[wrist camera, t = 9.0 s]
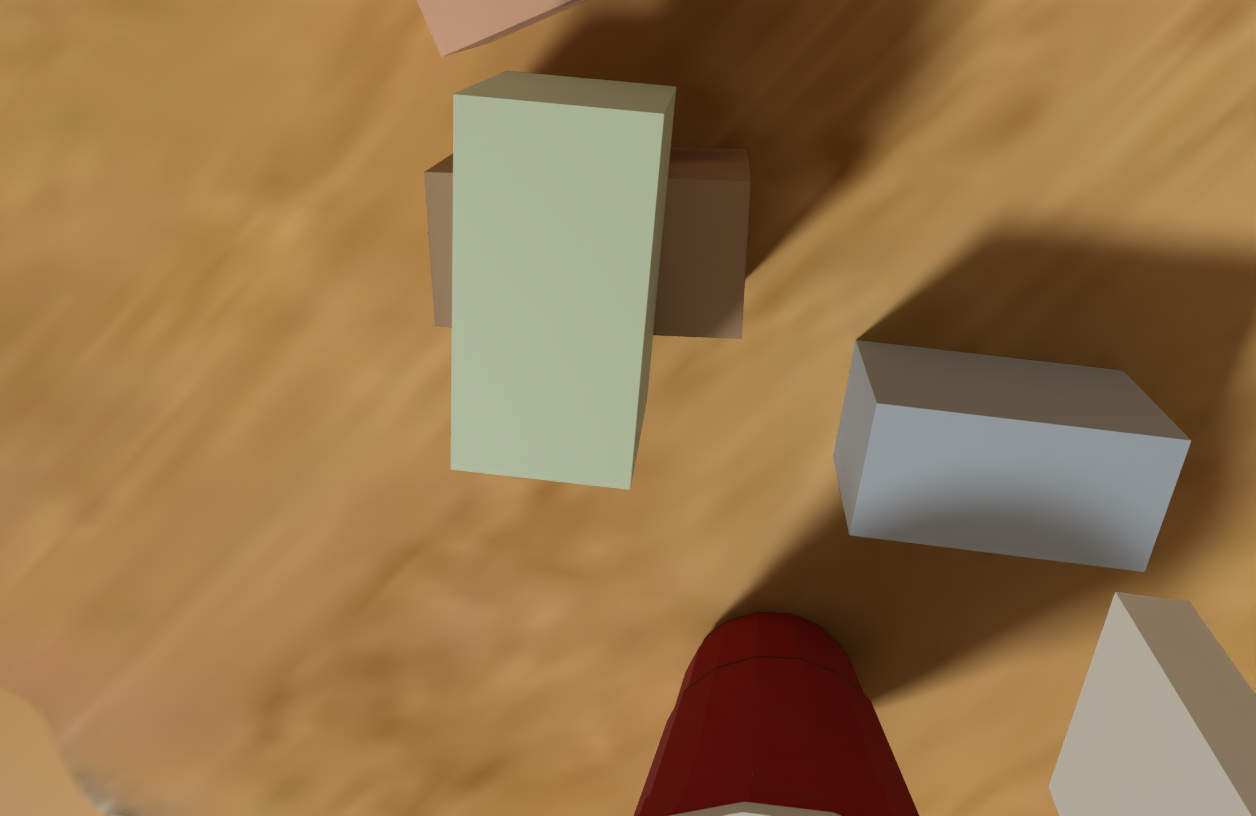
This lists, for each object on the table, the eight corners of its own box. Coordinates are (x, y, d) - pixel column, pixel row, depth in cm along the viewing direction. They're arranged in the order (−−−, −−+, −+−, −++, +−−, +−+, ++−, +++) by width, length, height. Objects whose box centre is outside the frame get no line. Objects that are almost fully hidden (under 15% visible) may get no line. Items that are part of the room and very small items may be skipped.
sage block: (507, 71, 23) (453, 93, 19) (676, 86, 23) (664, 113, 19) (498, 384, 27) (450, 469, 22) (646, 400, 26) (630, 489, 22)
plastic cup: (584, 567, 34) (515, 844, 24) (902, 527, 33) (989, 807, 22) (645, 804, 39) (611, 1134, 28) (932, 780, 37) (1016, 1123, 26)
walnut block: (747, 147, 28) (750, 181, 24) (740, 283, 30) (741, 338, 25) (472, 141, 29) (424, 171, 25) (479, 273, 31) (435, 326, 26)
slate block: (1121, 369, 30) (1191, 440, 25) (1085, 485, 32) (1144, 572, 27) (855, 338, 30) (876, 403, 26) (832, 454, 32) (849, 535, 27)
